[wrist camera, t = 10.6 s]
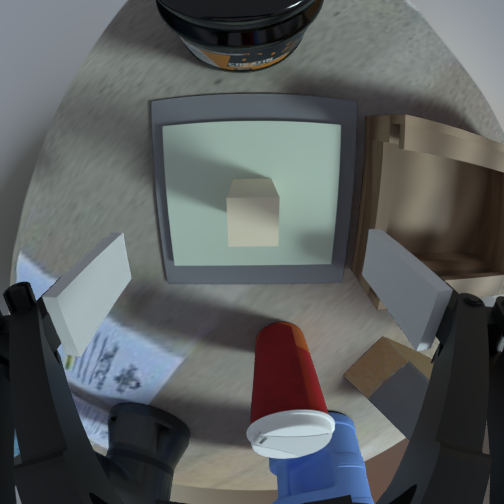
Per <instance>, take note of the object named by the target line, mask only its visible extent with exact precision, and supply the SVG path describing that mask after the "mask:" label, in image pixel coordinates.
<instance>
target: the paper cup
mask: <svg viewBox="0 0 504 504" xmlns="http://www.w3.org/2000/svg"><path fill="white" fill-rule="evenodd" d="M334 430H335V422H334V419H333V418H332V417H331V416H330V415H329V414H328V410H327V407H326V404H325V401H324V397H323V394H322V391H321V387H320V384H319V381H318V378H317V374H316V371H315V368H314V365H313V362H312V359H311V356H310V353H309V350H308V347H307V344H306V341H305V338H304V335H303V333H302V331H301V330H300V328H298V327H297V326H296V325H294V324H291V323H288V322H277V323H273V324H270V325H268V326H266V327H264V328H263V329H262V330H261V331H260V332H259V334H258V336H257V340H256V350H255V363H254V379H253V391H252V403H251V424H250V426H249V427H248V429H247V432H246V435H247V438H248V440H249V441H250V442H251V446H252V448H253V449H254V451H255V452H257V453H258V454H260V455H262V456H265V457H270V458H278V459H287V458H296V457H301V456H305V455H308V454H311V453H314V452H316V451H318V450H320V449H322V448H323V447H325V446H326V445H327V444H328V443H329V442H330V439H331V437H332V433H333V431H334Z"/></svg>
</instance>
